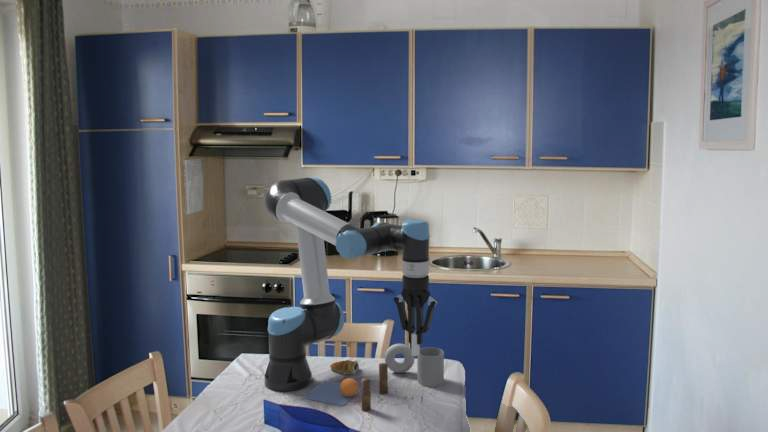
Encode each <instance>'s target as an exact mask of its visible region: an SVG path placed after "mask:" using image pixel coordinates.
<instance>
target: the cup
mask: <svg viewBox="0 0 768 432" xmlns="http://www.w3.org/2000/svg"><path fill="white" fill-rule="evenodd" d="M416 357H417V359H416V360H417V365H416V366H417V370H416V371H417V374H416V376H417V378H416V379H417V383H418V385H420V386H423V387H427V388H436V387H440V386H441V385H444V382H445V381H444V380H445V379H444V375H445V373H444V372H445V370H444V369H445V351H444V350H443V349H441V348H439V347H433V346H430V347H428V346H427V347H420V353H419V354H418V355H417V356H416Z"/></svg>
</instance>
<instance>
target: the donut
mask: <svg viewBox="0 0 768 432" xmlns="http://www.w3.org/2000/svg"><path fill="white" fill-rule="evenodd" d="M397 355H402V356H403V358H404V360H403V361H401V362H398V361H397V360H396V359H395V357H396V356H397ZM415 358H416V357H415V356H412V348H410V346H408V345H406V344H404V343H394V344H392V345H391V346H389V347H388V348H387V349H386V351H385V353H384V363H386V364H388V369H389V370H390V371H391V372H393V373H396V374H403V373H406V372H408V371H409V370H410V369H411V368H412V367H413V365H414V363H415V360H416V359H415Z"/></svg>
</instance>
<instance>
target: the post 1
mask: <svg viewBox="0 0 768 432" xmlns="http://www.w3.org/2000/svg"><path fill="white" fill-rule="evenodd" d="M360 382H361V384H360V385H361V386H360V387H361V391H360V392H361V411H363V412H369V411H371V408H372V406H371V379H370V378H368V377H363V378H361V380H360Z"/></svg>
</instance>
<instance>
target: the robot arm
mask: <svg viewBox="0 0 768 432" xmlns="http://www.w3.org/2000/svg"><path fill="white" fill-rule="evenodd" d="M264 204H265V208H266V210H267V212H268V213H269V214H270V216H272V217H274V218H275V219H276V220H279V221H280V222H283V223H291V224H293V225H295V229H296V236H297V237H296V238H297V246H298V254H299V255H298V257H299V264H300V272H301V282H302V290H303V291H302V292H303V298H302V299H301V300H300V301H299V306H290V307H283V308H278V309H276V310H275V311H273V312H272V313H271V314H270V315H269V316H268V317H269V318H268V321H267V322H268V325H267V332H268V354H269V355H268V356H269V357H268V359H269V360H268V363H267V367H266V370H265V373H264V385H265V387H266V388H267V389H270V390H272V391H273V390H274V391H279V392H290V391H297V390H301V389H304V388H306V387H308V386H309V385H311V383H312V382H313V373H312V371H311V366H310V365H309V362H308V359H307V346H310V345H313V344H317V343H320V342H322V341H328V340H330V339H332V338H333V337H337V336H338V335H339V334H340V332H342V330H343V329H344V324H345V312H344V310H343V309H342V308H341V305H340V304H339V303H338V302H336V299H335V297H334V296H333V295H332V294H331V293H330V284H329V275H328V267H327V256H326V248H325V242H328V243H330V245H333V246H335V249H336V251H337V253H339V255H340V257H342V258H343V259H347V260H348V259H357V258H360V257H364V256H368V255H373V254H377V253H381V252H387V251H393V252H394V251H395V252H399V253H401V254H402V255H401V257H402V259H401V260H402V274H403V275H402V277H401V278H402V282H401V283H402V290H401V293H400V294H399V295H396V296H395V297H394V298H393V301H394V303H395V304H396V308H397V312H398V316H399V321H400V325H401V330H402V331H406V332H407V333H408V343H409V344H411V349H412V356H414V357H417V355H418V354H419V353H420V349H421V347H420V346H421V345H422V344H423V340H424V339H423V337H424V336H423V335H424V334H425V333H427V332H428V331H429V330H430V326H431V322H432V319H433V316H434V311H435V307H436V305H438V303H439V300H438V299H434V298H433V297H432V296H431V293H430V291H429V289H430V277H429V275H428V274H430V255H429V251H430V237H431V236H430V228H429V223H428V221H426V220H424V219H405V220H404V221H402V225H400V224H393V223H389V222H376V223H373V225H372V226H369V227H363V228H360V227H358V226H355V225H353V224H350V223H349V222H347V221H345V220H343V219H341V218H339V217H336V216H335V215H333V214H331V213H328V212H327V210H329V208H330V207H331V204H332V194H331V190H330V188H329V186H328V185H327V184H326V182H325V181H324V180H323V179H321V178H318V177H302V178H294V179H282V180H278V181H276V182H274V183H273V184H272V185H270V186H269V187H268V188H267V190H266V193H265V195H264ZM404 302H405V303H406V305H405V303H404ZM427 302H428V303H427ZM426 303H427V305H428V307H427V310H426V314H425V318H424V309H425V305H426ZM406 307H407V311H406Z"/></svg>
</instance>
